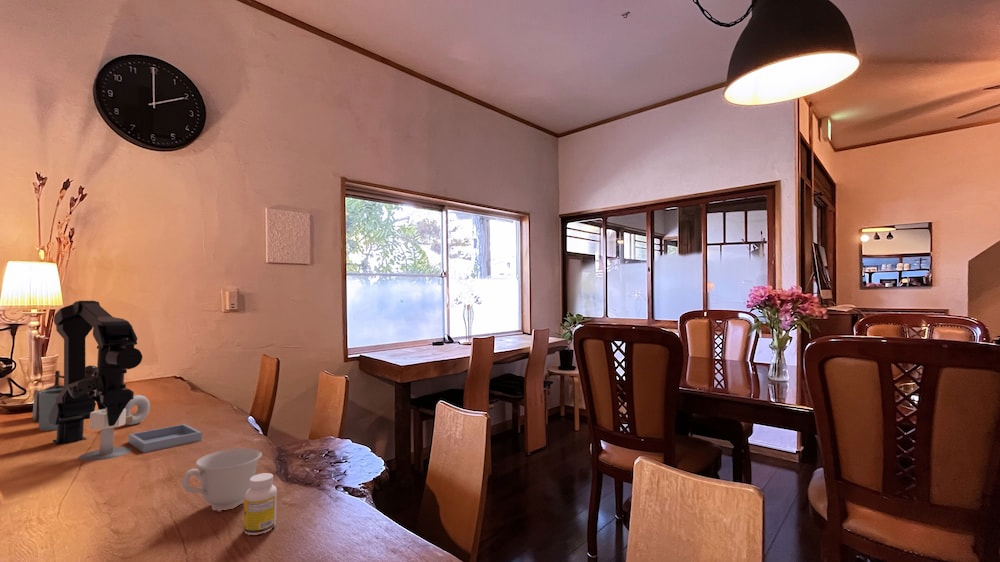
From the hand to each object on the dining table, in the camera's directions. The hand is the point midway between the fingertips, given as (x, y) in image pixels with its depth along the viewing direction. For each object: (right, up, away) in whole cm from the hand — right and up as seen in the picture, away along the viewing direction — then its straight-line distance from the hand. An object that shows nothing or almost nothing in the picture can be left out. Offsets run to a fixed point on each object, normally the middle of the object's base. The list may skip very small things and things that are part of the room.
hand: (107, 423), depth 120 cm
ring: (0, -1, 0) cm, 1 cm away
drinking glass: (-39, -10, +25) cm, 47 cm away
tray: (+8, -9, +10) cm, 16 cm away
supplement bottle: (+62, -8, -37) cm, 73 cm away
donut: (-17, -10, +29) cm, 35 cm away
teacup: (+50, -9, -29) cm, 58 cm away
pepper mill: (-50, -10, +38) cm, 64 cm away
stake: (0, -9, 0) cm, 9 cm away
